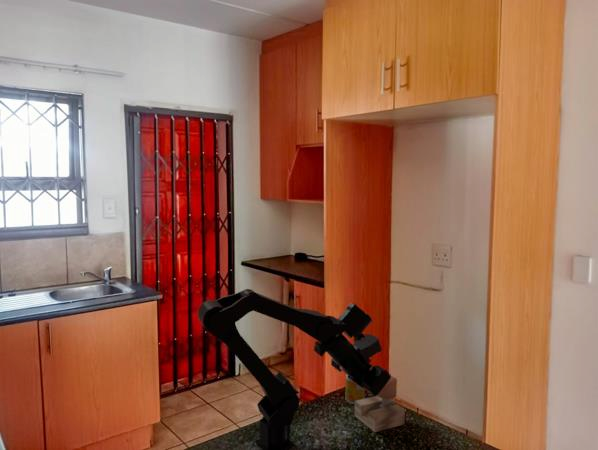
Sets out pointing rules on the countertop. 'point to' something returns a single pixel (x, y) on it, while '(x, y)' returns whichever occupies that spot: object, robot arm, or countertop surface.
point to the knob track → (379, 414)
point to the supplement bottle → (353, 391)
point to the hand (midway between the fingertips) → (377, 389)
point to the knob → (388, 392)
